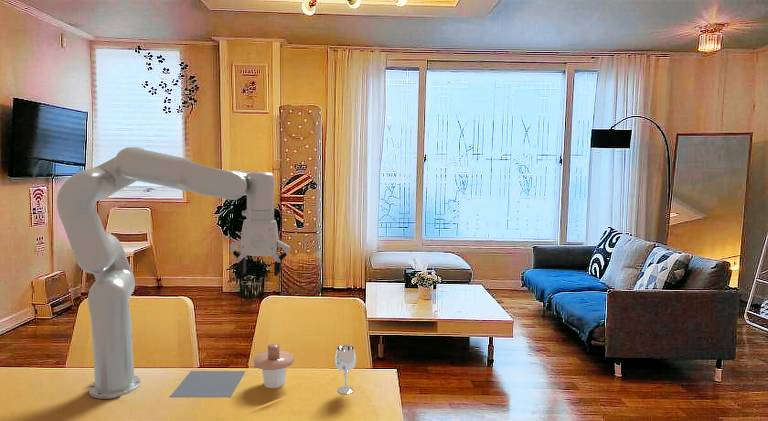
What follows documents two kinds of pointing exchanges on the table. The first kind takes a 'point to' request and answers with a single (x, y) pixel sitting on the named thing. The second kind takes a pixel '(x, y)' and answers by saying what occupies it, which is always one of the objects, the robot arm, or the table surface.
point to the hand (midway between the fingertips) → (260, 274)
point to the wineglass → (345, 364)
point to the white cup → (274, 378)
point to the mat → (209, 384)
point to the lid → (273, 358)
